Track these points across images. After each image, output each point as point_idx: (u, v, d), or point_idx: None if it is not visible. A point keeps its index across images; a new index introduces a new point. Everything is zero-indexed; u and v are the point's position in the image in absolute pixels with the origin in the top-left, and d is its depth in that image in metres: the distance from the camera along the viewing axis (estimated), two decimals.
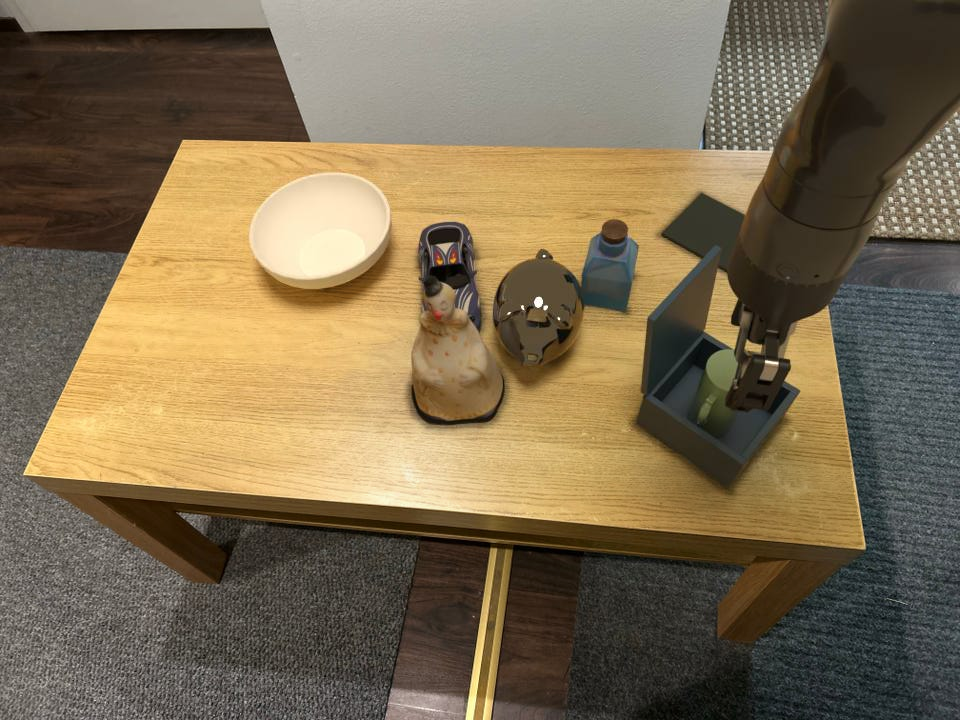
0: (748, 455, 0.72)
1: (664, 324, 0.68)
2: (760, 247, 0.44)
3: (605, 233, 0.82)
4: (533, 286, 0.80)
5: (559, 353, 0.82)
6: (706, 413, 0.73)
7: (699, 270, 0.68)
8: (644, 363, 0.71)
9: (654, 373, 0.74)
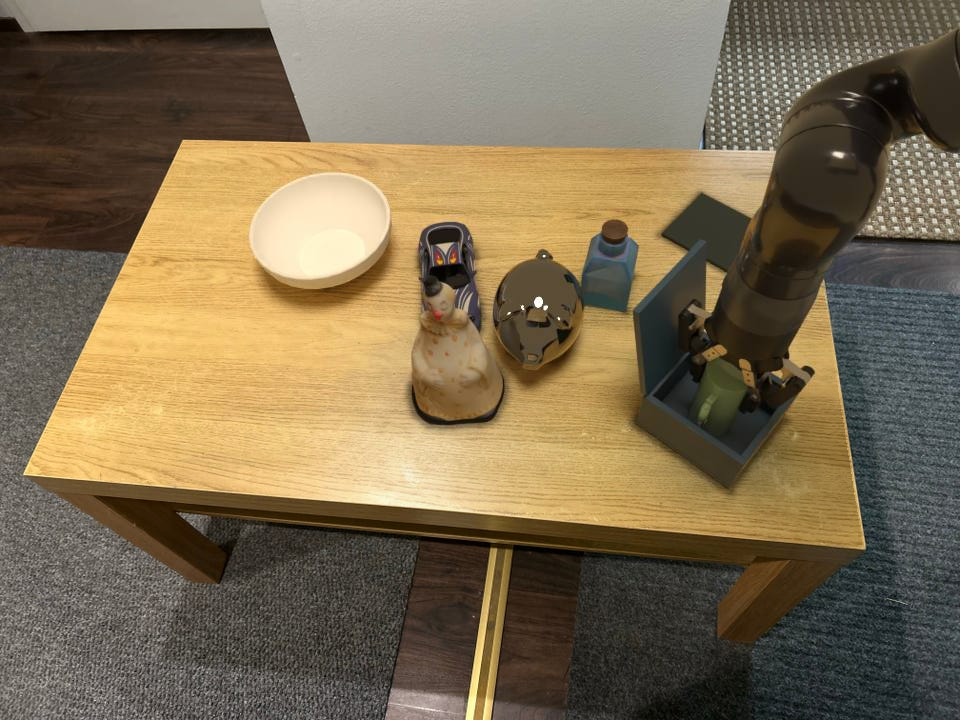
0: (748, 455, 0.72)
1: (652, 317, 0.68)
2: (778, 325, 0.58)
3: (605, 233, 0.82)
4: (533, 286, 0.80)
5: (559, 353, 0.82)
6: (706, 413, 0.73)
7: (684, 263, 0.69)
8: (638, 360, 0.72)
9: (651, 371, 0.74)
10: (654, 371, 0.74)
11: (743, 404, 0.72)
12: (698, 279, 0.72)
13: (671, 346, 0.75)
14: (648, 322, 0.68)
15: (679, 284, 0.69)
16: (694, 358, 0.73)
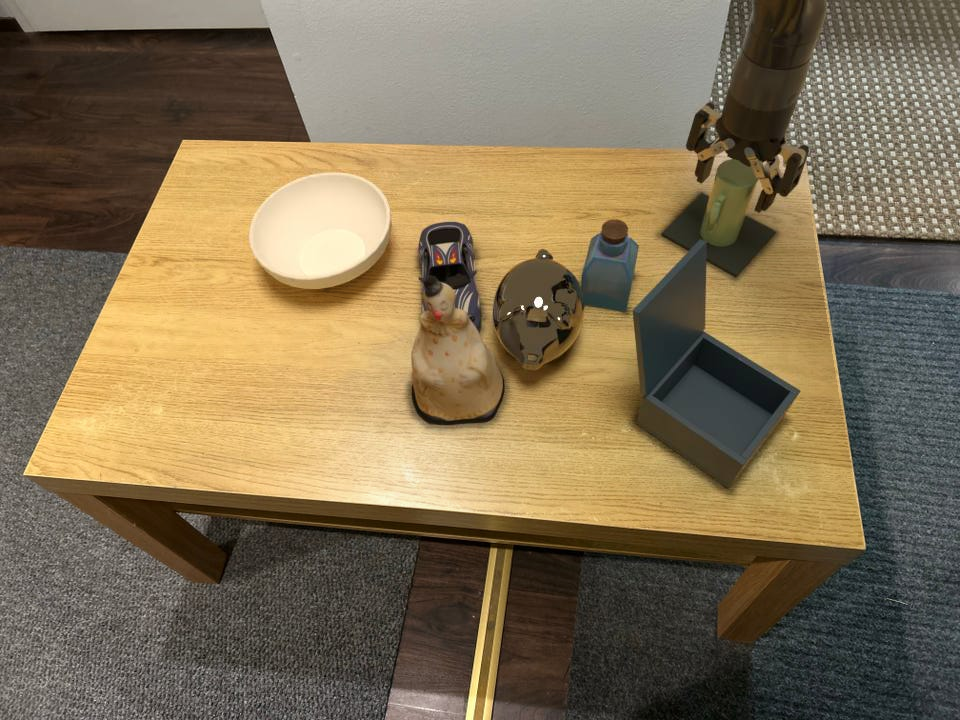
0: (748, 455, 0.72)
1: (652, 317, 0.68)
2: (776, 98, 0.73)
3: (605, 233, 0.82)
4: (533, 286, 0.80)
5: (559, 353, 0.82)
6: (716, 212, 0.88)
7: (684, 263, 0.69)
8: (638, 360, 0.72)
9: (651, 371, 0.74)
10: (654, 371, 0.74)
11: (758, 201, 0.86)
12: (698, 279, 0.72)
13: (671, 346, 0.75)
14: (648, 322, 0.68)
15: (679, 284, 0.69)
16: (699, 154, 0.87)
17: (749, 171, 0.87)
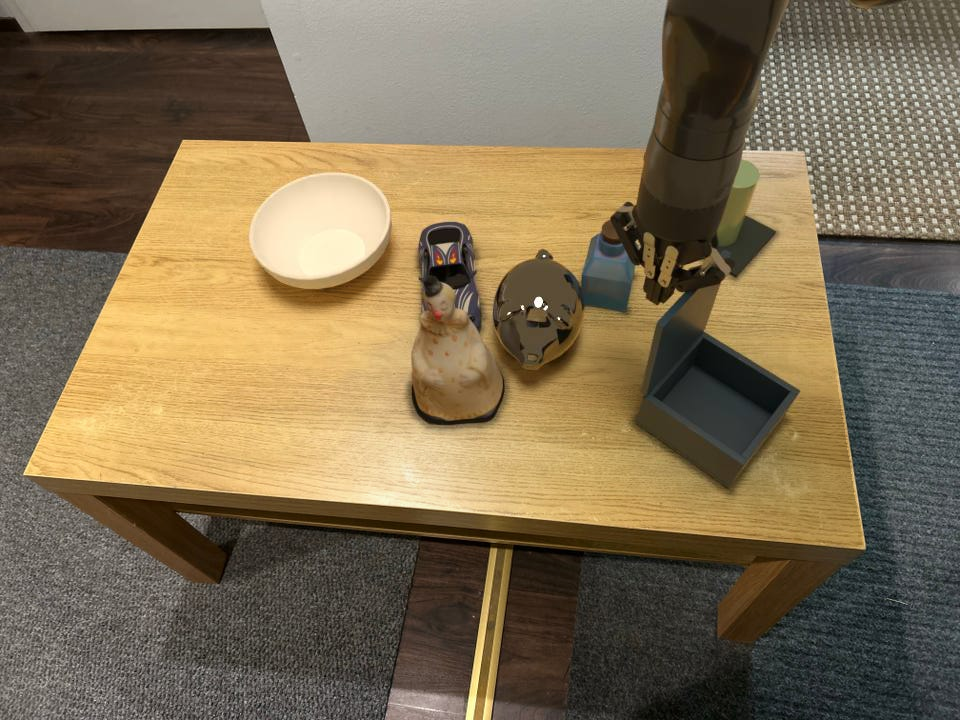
0: (748, 455, 0.72)
1: (671, 328, 0.67)
2: (698, 194, 0.54)
3: (605, 233, 0.82)
4: (533, 286, 0.80)
5: (559, 353, 0.82)
6: None
7: None
8: (648, 365, 0.71)
9: (656, 374, 0.74)
10: (658, 374, 0.74)
11: (655, 293, 0.70)
12: (714, 287, 0.71)
13: (677, 350, 0.75)
14: (667, 333, 0.67)
15: (699, 295, 0.68)
16: (646, 271, 0.68)
17: (749, 171, 0.87)
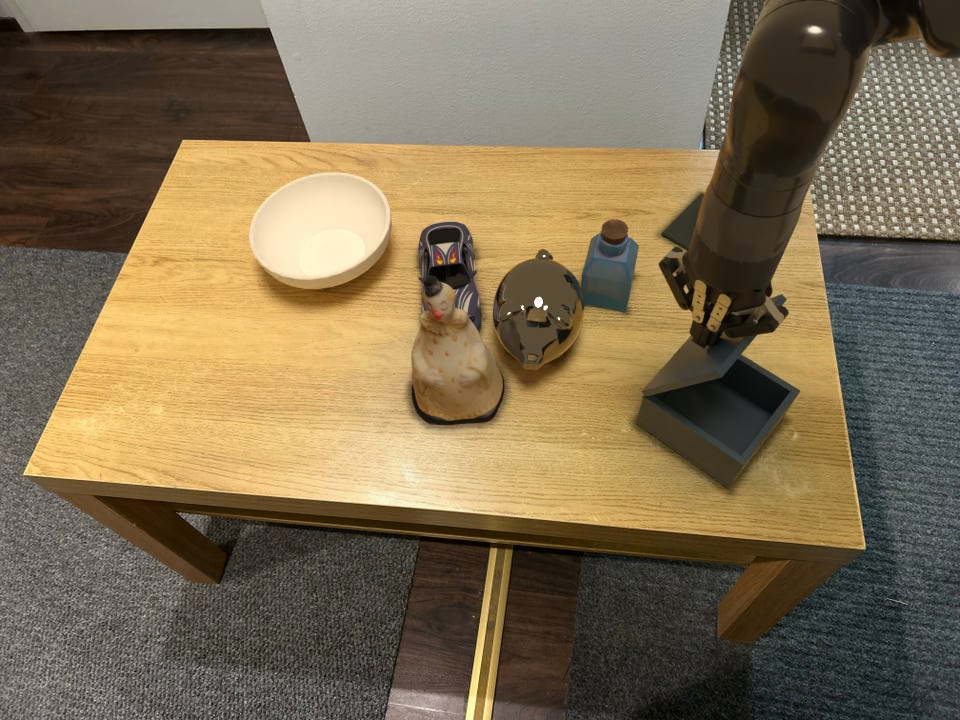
0: (748, 455, 0.72)
1: None
2: (757, 248, 0.54)
3: (605, 233, 0.82)
4: (533, 286, 0.80)
5: (559, 353, 0.82)
6: None
7: None
8: (671, 385, 0.70)
9: None
10: None
11: (702, 337, 0.69)
12: None
13: None
14: None
15: None
16: (694, 315, 0.68)
17: None
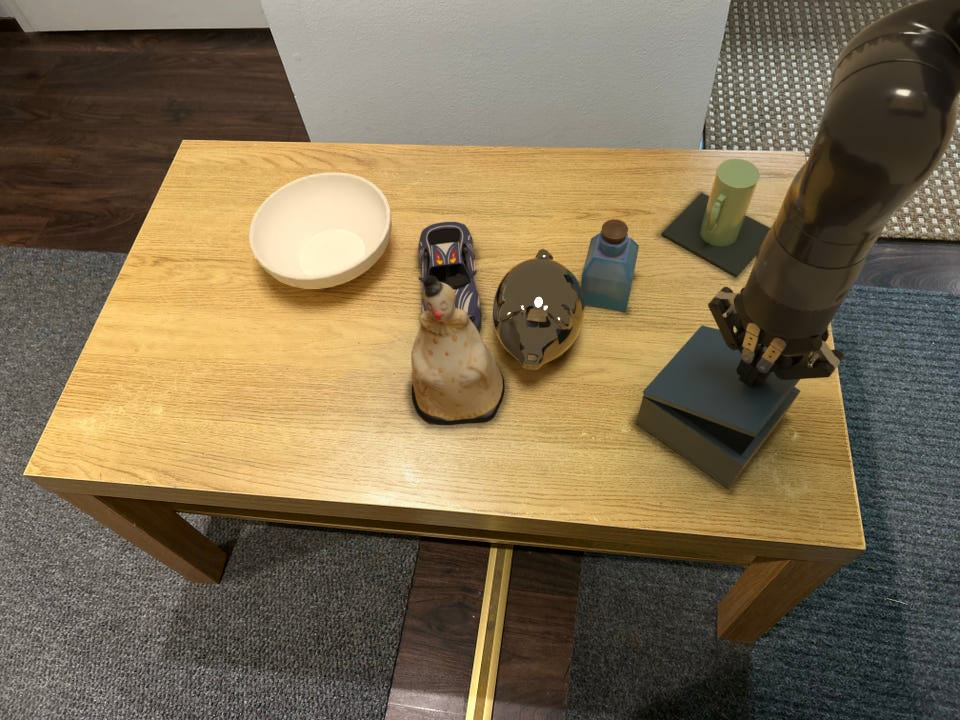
0: (748, 455, 0.72)
1: None
2: (820, 298, 0.53)
3: (605, 233, 0.82)
4: (533, 286, 0.80)
5: (559, 353, 0.82)
6: (716, 212, 0.88)
7: (796, 383, 0.69)
8: (687, 409, 0.71)
9: None
10: None
11: (750, 377, 0.68)
12: None
13: None
14: None
15: None
16: (744, 356, 0.67)
17: (749, 171, 0.87)
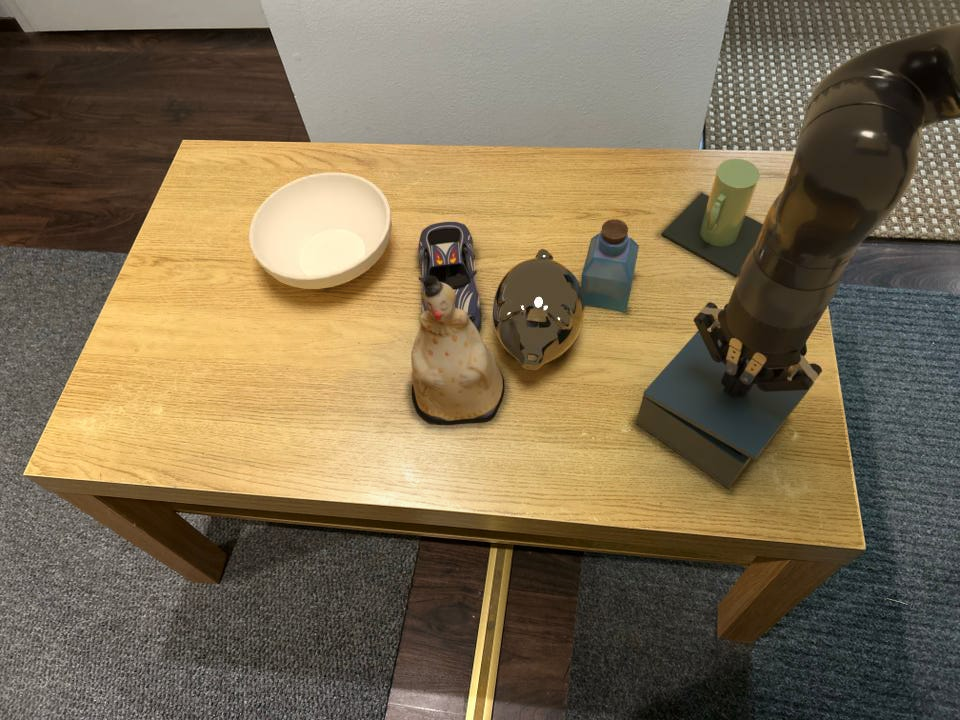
0: None
1: None
2: (797, 317, 0.56)
3: (605, 233, 0.82)
4: (533, 286, 0.80)
5: (559, 353, 0.82)
6: (716, 212, 0.88)
7: (795, 407, 0.72)
8: (689, 419, 0.73)
9: None
10: None
11: (734, 388, 0.71)
12: None
13: None
14: None
15: None
16: (727, 368, 0.70)
17: (749, 171, 0.87)
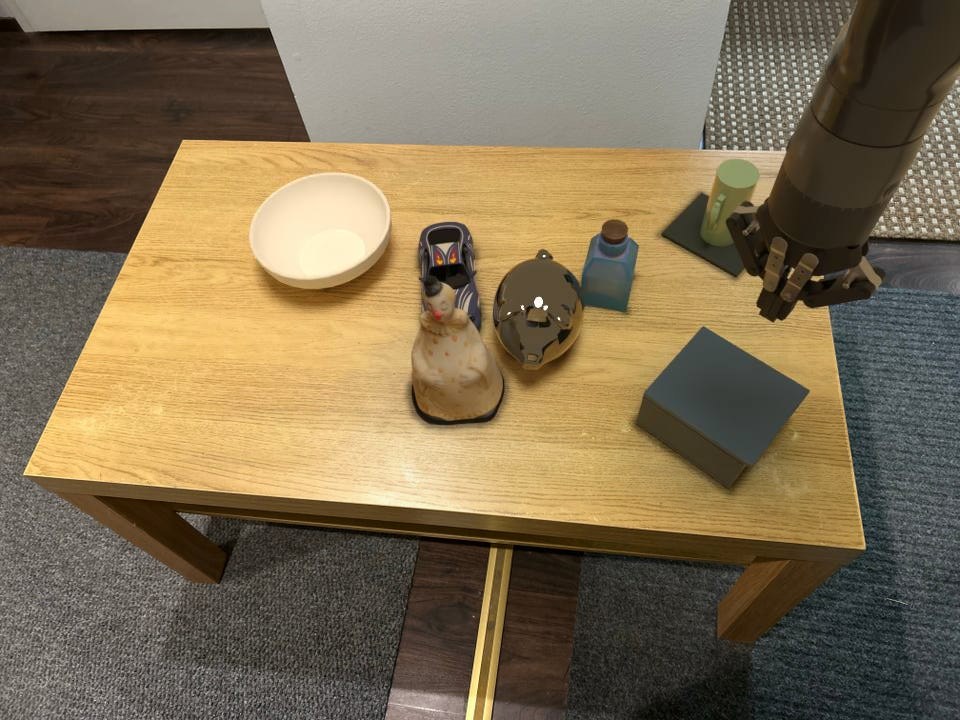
0: None
1: None
2: (866, 190, 0.44)
3: (605, 233, 0.82)
4: (533, 286, 0.80)
5: (559, 353, 0.82)
6: (716, 212, 0.88)
7: None
8: (688, 424, 0.73)
9: None
10: None
11: (773, 308, 0.59)
12: None
13: None
14: None
15: None
16: (766, 282, 0.58)
17: (749, 171, 0.87)
